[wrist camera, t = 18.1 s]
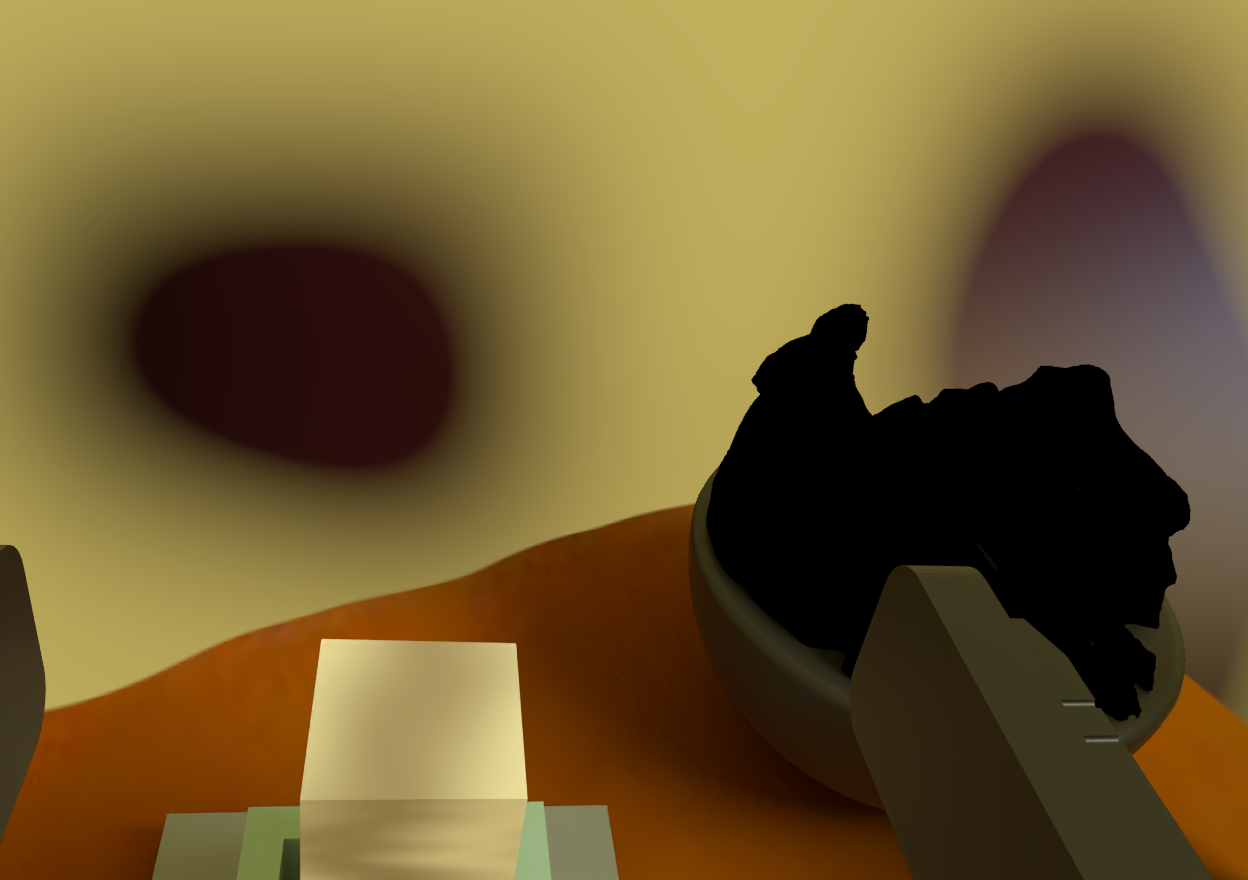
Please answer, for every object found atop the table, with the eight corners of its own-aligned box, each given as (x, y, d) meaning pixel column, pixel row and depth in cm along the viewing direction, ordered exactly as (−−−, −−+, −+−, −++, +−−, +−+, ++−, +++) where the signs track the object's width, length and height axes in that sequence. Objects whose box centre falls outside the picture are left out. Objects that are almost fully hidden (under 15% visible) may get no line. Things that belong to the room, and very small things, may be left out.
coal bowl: (1184, 841, 47) (1423, 493, 37) (816, 1011, 38) (1001, 611, 28) (896, 556, 62) (1012, 248, 51) (577, 629, 52) (643, 272, 42)
